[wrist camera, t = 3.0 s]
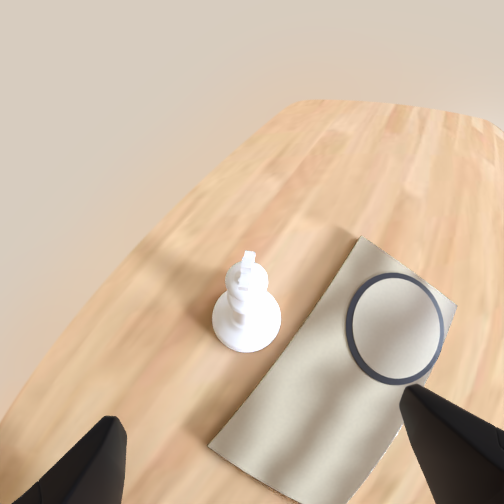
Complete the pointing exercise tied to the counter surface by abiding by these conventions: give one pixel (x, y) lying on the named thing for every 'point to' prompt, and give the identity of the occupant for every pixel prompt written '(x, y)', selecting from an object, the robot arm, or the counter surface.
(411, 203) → the counter surface
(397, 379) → the grey plate with ring
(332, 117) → the counter surface
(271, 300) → the chess piece
